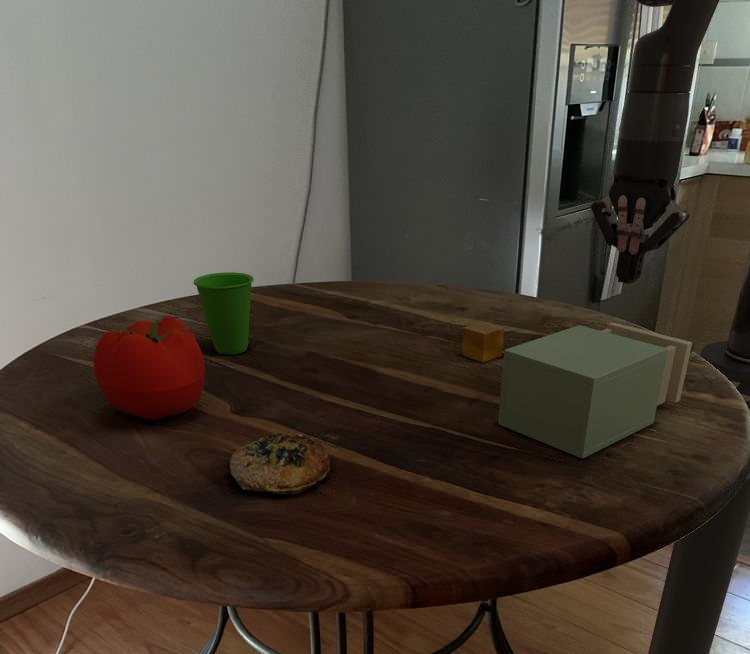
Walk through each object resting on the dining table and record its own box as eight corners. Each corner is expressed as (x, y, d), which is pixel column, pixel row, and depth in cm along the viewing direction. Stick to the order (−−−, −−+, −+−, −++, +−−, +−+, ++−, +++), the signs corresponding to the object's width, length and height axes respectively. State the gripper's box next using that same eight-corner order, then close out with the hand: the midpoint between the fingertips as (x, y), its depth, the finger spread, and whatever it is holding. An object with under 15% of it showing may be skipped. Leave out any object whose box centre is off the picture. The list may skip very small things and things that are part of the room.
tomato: (152, 442, 88) (135, 347, 82) (82, 414, 95) (62, 325, 89) (234, 406, 97) (224, 318, 91) (164, 383, 104) (151, 301, 98)
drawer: (630, 366, 106) (639, 313, 102) (704, 388, 98) (717, 331, 94) (543, 402, 95) (549, 343, 91) (619, 430, 87) (630, 367, 83)
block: (480, 349, 116) (482, 321, 114) (502, 356, 113) (504, 327, 111) (461, 355, 113) (463, 327, 111) (482, 362, 110) (484, 334, 108)
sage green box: (570, 394, 99) (579, 324, 94) (653, 423, 91) (668, 348, 86) (497, 424, 91) (503, 349, 86) (582, 459, 83) (594, 378, 78)
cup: (270, 350, 116) (264, 279, 111) (219, 363, 111) (210, 290, 106) (242, 336, 122) (235, 269, 117) (192, 348, 118) (182, 278, 112)
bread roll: (334, 448, 85) (330, 411, 82) (327, 508, 76) (323, 469, 73) (240, 451, 86) (232, 414, 83) (222, 511, 77) (213, 473, 74)
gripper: (719, 136, 86) (688, 286, 94) (620, 131, 94) (600, 269, 103) (687, 140, 81) (657, 297, 90) (586, 134, 90) (567, 277, 99)
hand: (626, 281), depth 97 cm, fingers closed
